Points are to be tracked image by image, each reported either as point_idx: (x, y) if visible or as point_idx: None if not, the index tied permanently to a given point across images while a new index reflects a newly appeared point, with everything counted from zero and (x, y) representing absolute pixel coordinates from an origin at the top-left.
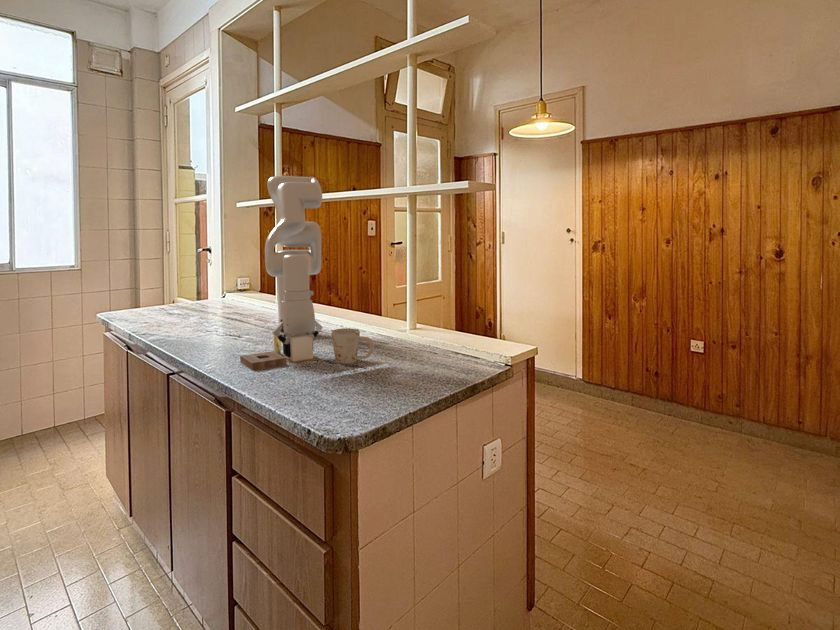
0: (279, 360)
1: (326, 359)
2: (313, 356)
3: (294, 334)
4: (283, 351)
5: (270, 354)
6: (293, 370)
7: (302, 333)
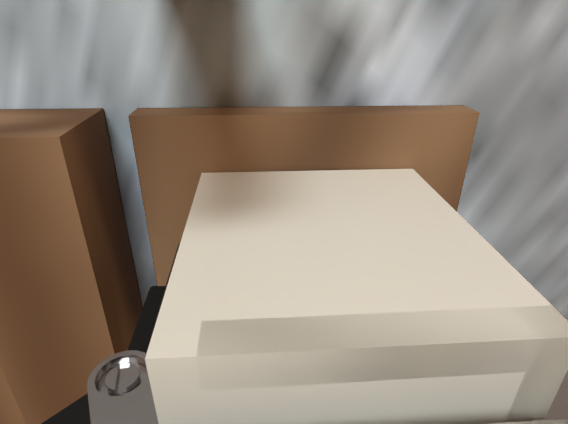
0: None
1: None
2: None
3: (336, 420)
4: (149, 299)
5: (5, 268)
6: None
7: (493, 408)
